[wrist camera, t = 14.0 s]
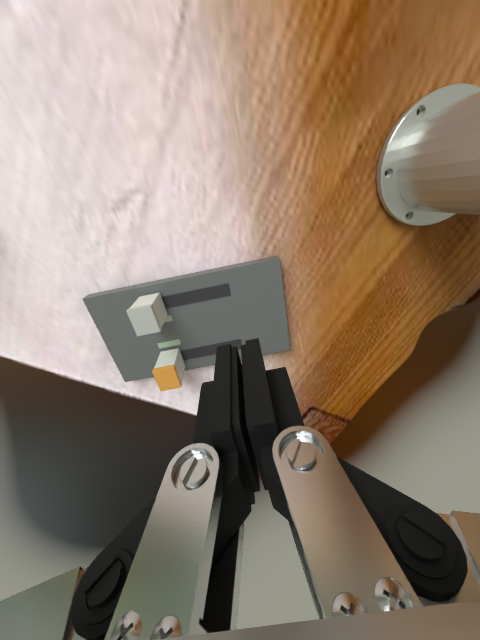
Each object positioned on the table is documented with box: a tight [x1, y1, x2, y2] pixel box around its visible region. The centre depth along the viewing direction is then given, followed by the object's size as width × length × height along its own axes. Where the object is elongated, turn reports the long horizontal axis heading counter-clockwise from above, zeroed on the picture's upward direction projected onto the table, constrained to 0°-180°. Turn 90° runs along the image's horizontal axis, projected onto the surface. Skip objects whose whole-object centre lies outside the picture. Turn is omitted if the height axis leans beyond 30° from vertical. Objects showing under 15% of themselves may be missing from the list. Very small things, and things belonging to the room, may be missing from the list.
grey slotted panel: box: [83, 256, 290, 382], centre depth 33 cm, size 24×13×2 cm, turn 101°
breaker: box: [126, 292, 167, 336], centre depth 28 cm, size 3×3×4 cm
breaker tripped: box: [152, 348, 185, 391], centre depth 32 cm, size 3×3×4 cm
